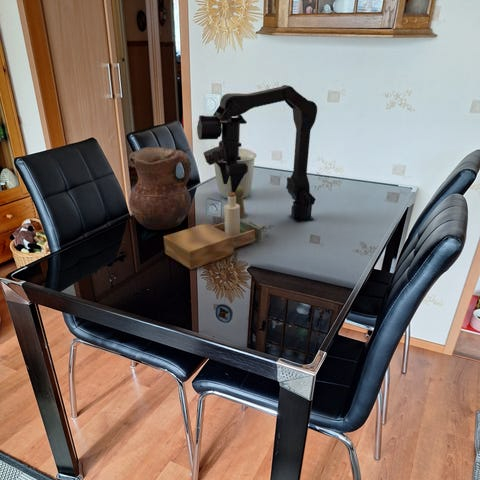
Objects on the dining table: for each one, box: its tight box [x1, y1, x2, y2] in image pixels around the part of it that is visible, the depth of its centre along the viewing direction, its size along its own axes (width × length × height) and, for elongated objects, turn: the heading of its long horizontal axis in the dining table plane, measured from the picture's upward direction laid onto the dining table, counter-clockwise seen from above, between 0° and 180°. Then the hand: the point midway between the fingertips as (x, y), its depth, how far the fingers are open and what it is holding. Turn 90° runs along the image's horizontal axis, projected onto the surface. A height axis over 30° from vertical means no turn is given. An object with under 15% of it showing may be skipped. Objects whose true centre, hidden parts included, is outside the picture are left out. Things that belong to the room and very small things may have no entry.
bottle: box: [223, 192, 240, 236], centre depth 139 cm, size 5×5×14 cm
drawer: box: [212, 218, 266, 249], centre depth 143 cm, size 20×13×4 cm
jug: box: [128, 146, 192, 231], centre depth 151 cm, size 22×21×25 cm
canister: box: [213, 147, 257, 199], centre depth 177 cm, size 18×18×21 cm
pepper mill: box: [230, 186, 246, 220], centre depth 161 cm, size 6×6×11 cm
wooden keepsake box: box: [163, 223, 235, 270], centre depth 135 cm, size 16×14×6 cm
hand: (229, 188), depth 146 cm, fingers open, 9 cm apart
